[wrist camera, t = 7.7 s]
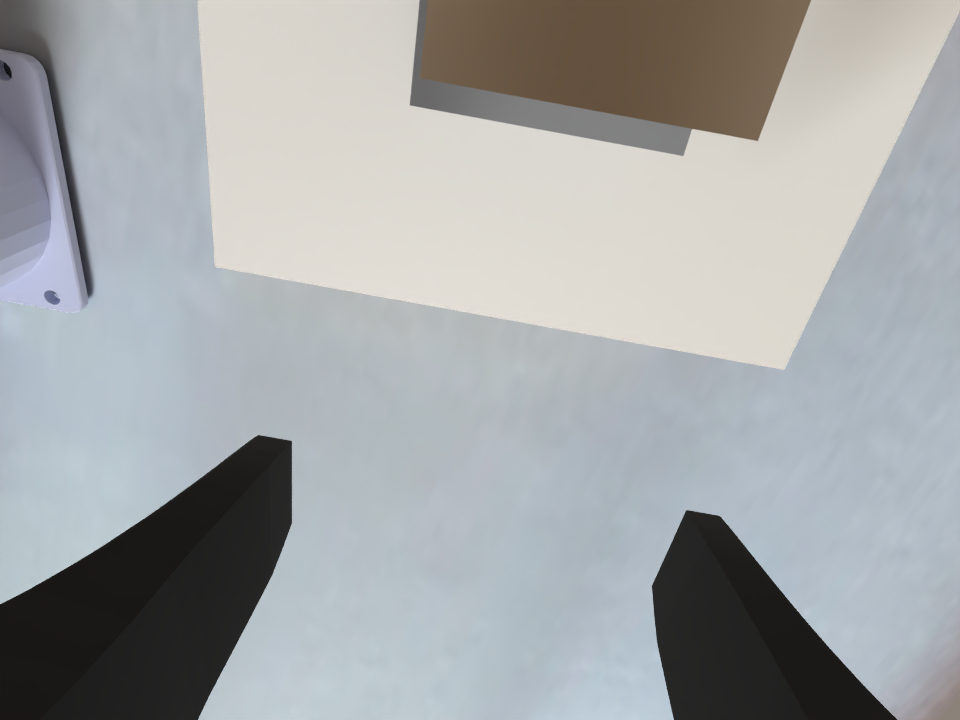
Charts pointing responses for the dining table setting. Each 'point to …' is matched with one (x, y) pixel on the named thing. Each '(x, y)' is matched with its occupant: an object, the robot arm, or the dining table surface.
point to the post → (622, 55)
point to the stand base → (548, 176)
